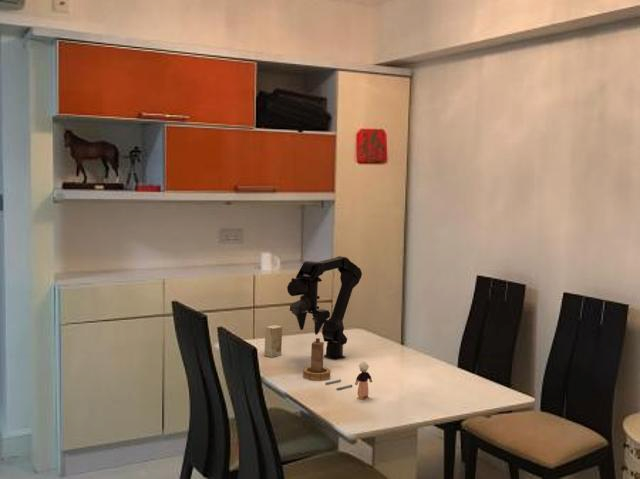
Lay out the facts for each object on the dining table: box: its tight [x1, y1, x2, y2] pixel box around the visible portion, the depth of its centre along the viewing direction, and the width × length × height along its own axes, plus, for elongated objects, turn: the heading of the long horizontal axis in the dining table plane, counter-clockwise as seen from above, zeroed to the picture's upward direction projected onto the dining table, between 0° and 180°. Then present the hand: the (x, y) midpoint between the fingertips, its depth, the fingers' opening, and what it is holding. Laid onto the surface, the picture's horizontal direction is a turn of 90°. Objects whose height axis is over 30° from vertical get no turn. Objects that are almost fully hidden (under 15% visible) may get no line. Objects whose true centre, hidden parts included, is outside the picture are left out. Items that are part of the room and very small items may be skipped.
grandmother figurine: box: [354, 361, 373, 401], centre depth 238 cm, size 8×4×13 cm, turn 141°
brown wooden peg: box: [310, 337, 325, 373], centre depth 262 cm, size 4×4×15 cm
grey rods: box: [325, 379, 353, 391], centre depth 252 cm, size 8×8×1 cm
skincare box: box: [263, 324, 283, 358], centre depth 289 cm, size 6×4×12 cm
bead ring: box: [302, 366, 331, 382], centre depth 262 cm, size 10×10×2 cm
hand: (308, 332), depth 277 cm, fingers open, 9 cm apart
